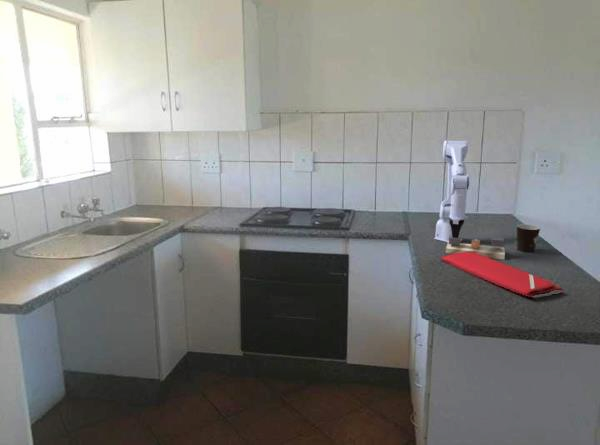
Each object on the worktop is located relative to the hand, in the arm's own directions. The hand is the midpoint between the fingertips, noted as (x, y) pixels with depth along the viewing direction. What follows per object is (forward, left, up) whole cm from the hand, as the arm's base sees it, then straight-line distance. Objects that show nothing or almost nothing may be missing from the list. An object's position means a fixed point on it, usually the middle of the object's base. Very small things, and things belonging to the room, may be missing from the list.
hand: (455, 237), depth 192 cm
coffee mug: (+19, +25, -6) cm, 32 cm away
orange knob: (+7, +4, -4) cm, 9 cm away
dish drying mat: (+26, -15, -6) cm, 31 cm away
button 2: (+14, +8, -1) cm, 16 cm away
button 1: (0, 0, -2) cm, 2 cm away
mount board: (+7, +4, -6) cm, 10 cm away
